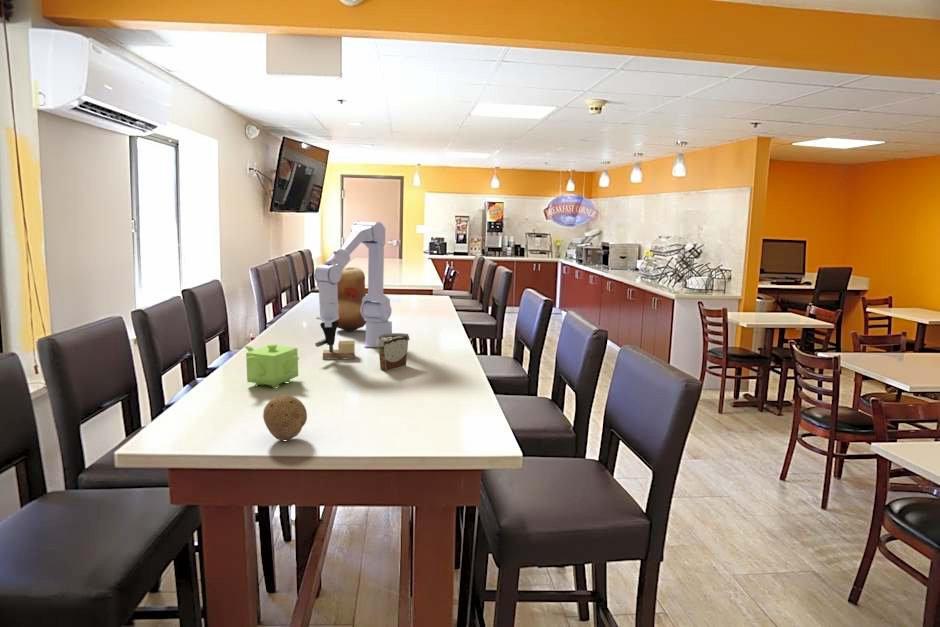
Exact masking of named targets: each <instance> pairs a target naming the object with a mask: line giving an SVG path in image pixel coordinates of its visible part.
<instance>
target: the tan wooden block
mask: <svg viewBox="0 0 940 627" xmlns="http://www.w3.org/2000/svg"><path fill="white" fill-rule="evenodd" d="M355 341H356V340H339V341H338V343H337V344H338V346H337V347H338V349H337V350H338V353H354V351H356V350H355V349H356V348H355V344H356V342H355Z"/></svg>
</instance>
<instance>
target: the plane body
mask: <svg viewBox="0 0 940 627" xmlns="http://www.w3.org/2000/svg"><path fill="white" fill-rule="evenodd" d="M355 351H356V350H355ZM355 351H354V353H338V349H334V345H328V349H324V350H323V352H322V358H327V359H326V360H332V359H331V358H355V359H356V354H355V353H356V352H355ZM322 358H321V359H322ZM328 358H330V359H328Z"/></svg>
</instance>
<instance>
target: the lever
mask: <svg viewBox="0 0 940 627" xmlns="http://www.w3.org/2000/svg"><path fill="white" fill-rule="evenodd" d="M324 345H327V343H326V339H325V338H323V339H321V340H318V341H316V342H315V343H314V346H315V347H317V348H318V347H321V346H324Z"/></svg>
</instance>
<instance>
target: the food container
mask: <svg viewBox="0 0 940 627" xmlns="http://www.w3.org/2000/svg"><path fill="white" fill-rule="evenodd" d="M409 341H410V335H409V333H402V332H401V333H399V332H397V333H395V332H394V333H393V332H392V333H390V334H383V335H380V336H378V338H377V342H376V345H378V347H377V348H378V355H379V357H378V358H379V366H380V367H379V368H380V371H382V372H387V373H388V372H390V371H393V370H397V369H400V368H404V367H407V363H408V362H407V359H408V347H409V346H408V345H409Z"/></svg>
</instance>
